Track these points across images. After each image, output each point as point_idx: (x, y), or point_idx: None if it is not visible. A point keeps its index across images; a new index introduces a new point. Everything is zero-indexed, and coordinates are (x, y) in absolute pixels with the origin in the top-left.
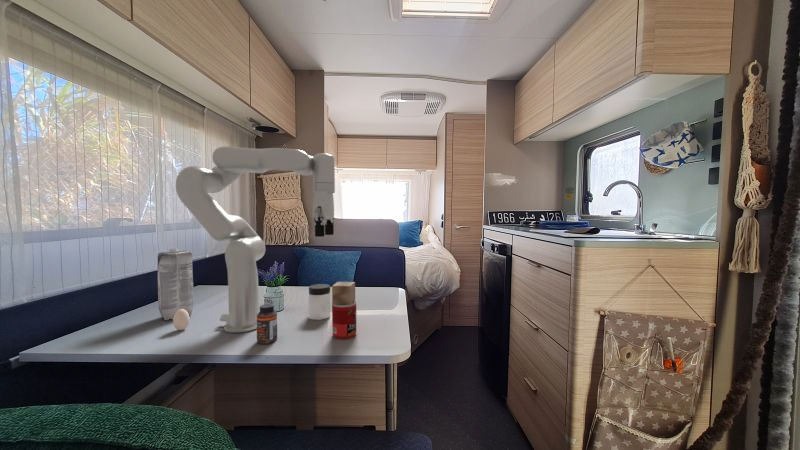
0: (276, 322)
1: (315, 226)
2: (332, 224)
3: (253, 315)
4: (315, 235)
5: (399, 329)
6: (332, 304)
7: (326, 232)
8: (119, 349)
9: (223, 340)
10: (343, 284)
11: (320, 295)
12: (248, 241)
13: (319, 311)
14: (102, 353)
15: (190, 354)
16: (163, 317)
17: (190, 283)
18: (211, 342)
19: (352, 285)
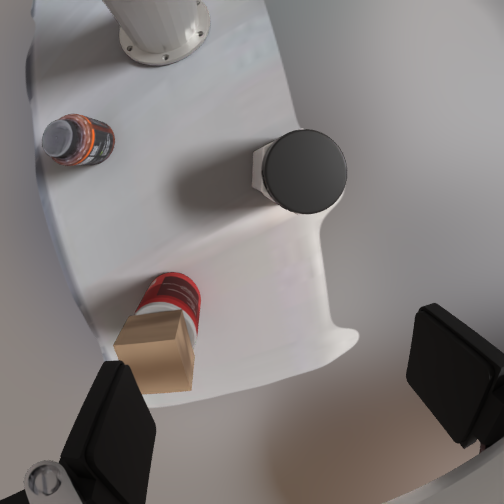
0: (83, 163)
1: (70, 446)
2: (465, 444)
3: (148, 43)
4: (104, 367)
5: (237, 386)
6: (139, 310)
7: (428, 333)
8: None
9: (85, 54)
10: (144, 371)
11: (266, 193)
12: None
13: (254, 187)
14: None
15: (31, 62)
16: None
17: None
18: (75, 43)
19: (158, 391)
